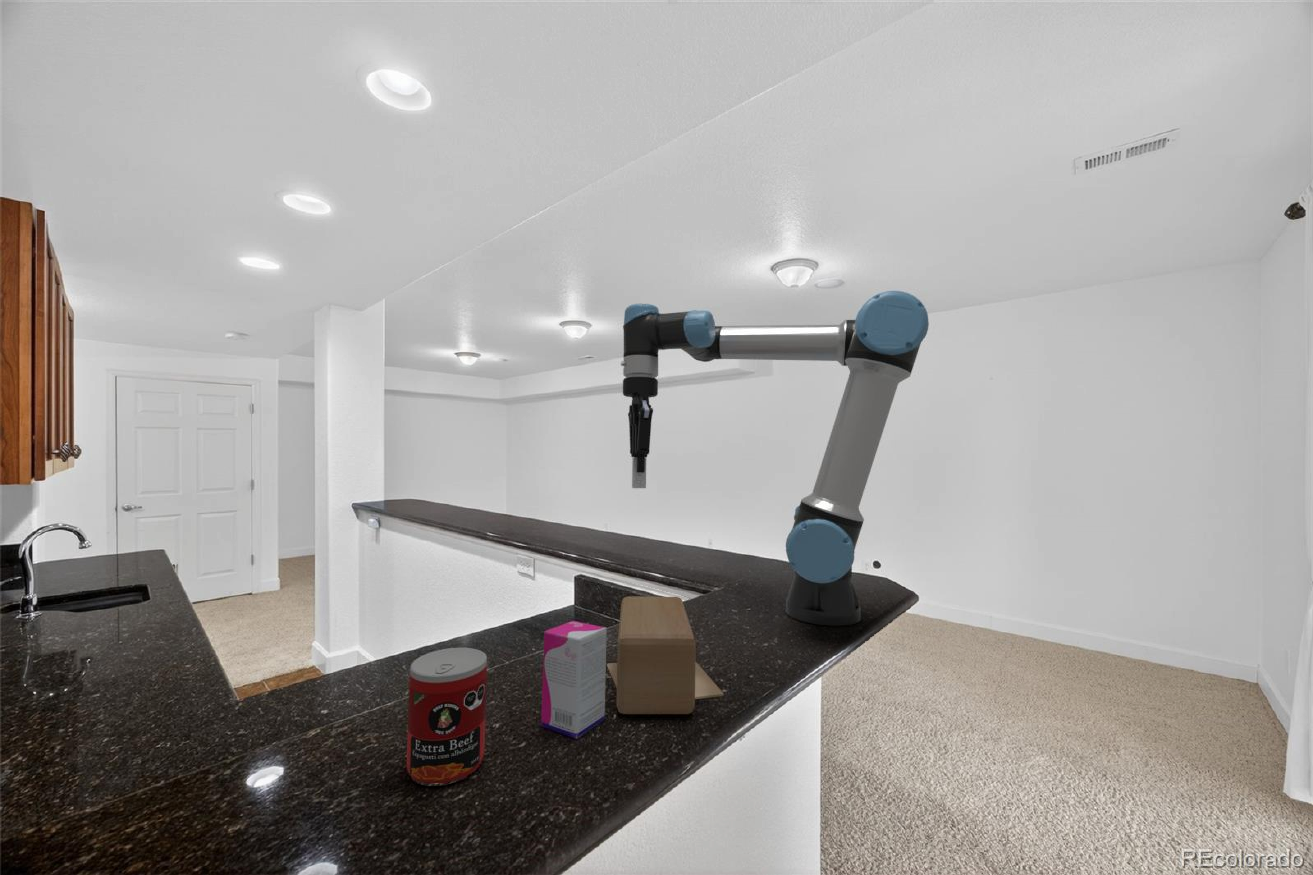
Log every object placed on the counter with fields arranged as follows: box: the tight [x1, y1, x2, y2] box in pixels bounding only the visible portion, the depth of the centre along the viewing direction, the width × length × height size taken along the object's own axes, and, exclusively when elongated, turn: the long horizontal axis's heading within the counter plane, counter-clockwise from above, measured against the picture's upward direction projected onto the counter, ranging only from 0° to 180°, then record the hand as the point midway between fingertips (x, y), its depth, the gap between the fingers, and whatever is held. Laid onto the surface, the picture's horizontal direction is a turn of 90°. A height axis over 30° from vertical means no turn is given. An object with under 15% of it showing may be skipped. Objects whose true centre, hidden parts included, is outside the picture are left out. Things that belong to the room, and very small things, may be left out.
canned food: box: [406, 647, 488, 783], centre depth 56 cm, size 8×8×11 cm
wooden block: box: [615, 595, 697, 715], centre depth 76 cm, size 10×10×20 cm
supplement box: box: [540, 620, 608, 740], centre depth 65 cm, size 6×6×12 cm
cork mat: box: [606, 660, 725, 700], centre depth 78 cm, size 14×14×1 cm
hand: (638, 487), depth 112 cm, fingers closed
